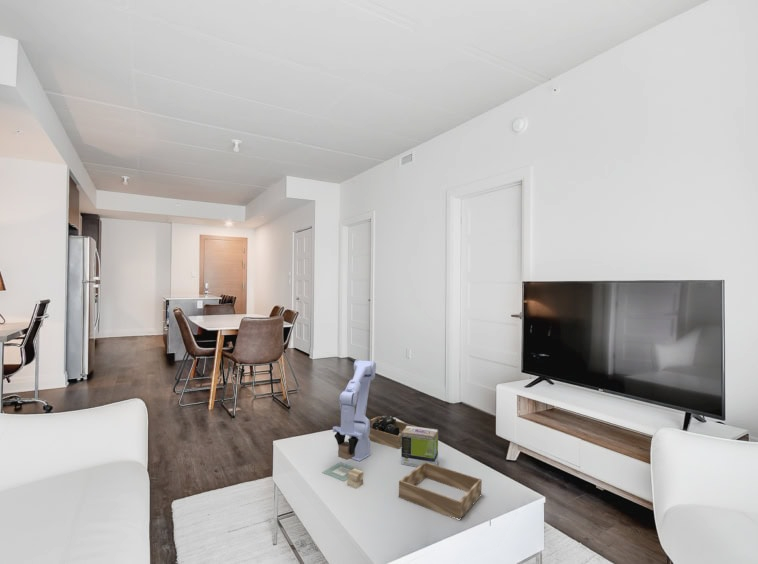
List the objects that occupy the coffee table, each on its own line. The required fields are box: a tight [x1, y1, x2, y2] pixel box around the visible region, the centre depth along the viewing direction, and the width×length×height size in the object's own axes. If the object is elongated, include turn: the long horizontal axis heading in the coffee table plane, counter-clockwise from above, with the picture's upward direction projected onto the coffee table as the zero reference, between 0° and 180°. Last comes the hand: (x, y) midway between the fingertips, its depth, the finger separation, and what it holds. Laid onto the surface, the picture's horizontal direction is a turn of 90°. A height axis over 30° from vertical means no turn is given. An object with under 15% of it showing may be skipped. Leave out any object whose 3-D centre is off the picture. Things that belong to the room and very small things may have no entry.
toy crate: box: [398, 462, 483, 519], centre depth 150 cm, size 21×25×6 cm
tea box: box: [400, 425, 439, 468], centre depth 178 cm, size 15×10×15 cm
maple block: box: [346, 468, 364, 489], centre depth 157 cm, size 4×4×5 cm
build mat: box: [321, 461, 363, 482], centre depth 167 cm, size 12×12×1 cm
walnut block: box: [337, 440, 355, 461], centre depth 167 cm, size 5×5×5 cm
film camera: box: [372, 415, 400, 436], centre depth 207 cm, size 18×12×10 cm
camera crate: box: [368, 416, 418, 450], centre depth 207 cm, size 19×25×6 cm
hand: (346, 452), depth 167 cm, fingers closed on walnut block, 5 cm apart
